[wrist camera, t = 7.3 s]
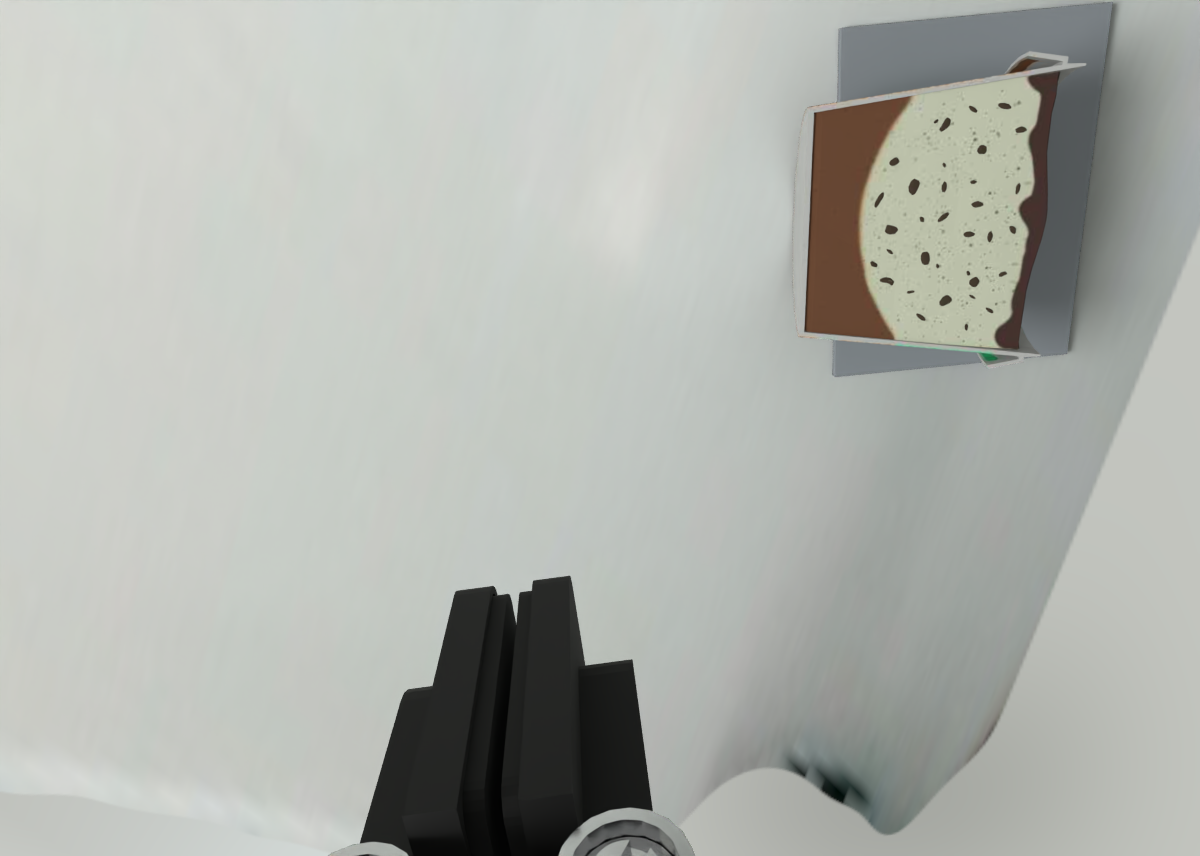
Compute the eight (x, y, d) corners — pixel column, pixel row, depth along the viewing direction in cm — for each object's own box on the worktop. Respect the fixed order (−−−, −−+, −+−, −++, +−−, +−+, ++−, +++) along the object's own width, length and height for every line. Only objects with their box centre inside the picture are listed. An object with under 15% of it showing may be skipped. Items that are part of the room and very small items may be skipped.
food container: (787, 336, 40) (991, 333, 38) (797, 369, 34) (1038, 368, 33) (796, 76, 36) (1028, 61, 34) (809, 66, 30) (1089, 47, 28)
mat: (838, 28, 34) (841, 27, 33) (1106, 3, 34) (1112, 1, 34) (832, 374, 39) (835, 377, 39) (1062, 352, 40) (1067, 354, 39)
